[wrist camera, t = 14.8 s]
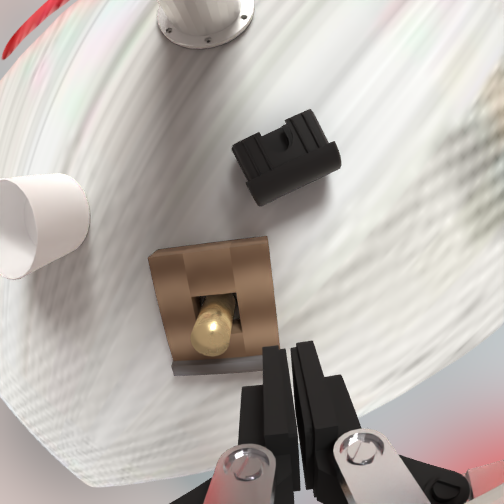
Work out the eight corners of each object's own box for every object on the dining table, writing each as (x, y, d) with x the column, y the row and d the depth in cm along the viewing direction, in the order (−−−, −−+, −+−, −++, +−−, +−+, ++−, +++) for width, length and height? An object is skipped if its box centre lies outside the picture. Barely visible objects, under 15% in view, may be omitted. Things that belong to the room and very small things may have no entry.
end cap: (258, 203, 37) (259, 210, 31) (232, 151, 36) (226, 147, 29) (332, 168, 36) (348, 168, 30) (306, 116, 35) (317, 105, 28)
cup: (104, 230, 38) (54, 252, 27) (52, 267, 40) (2, 294, 28) (69, 157, 36) (12, 157, 24) (20, 200, 37) (-34, 212, 26)
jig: (157, 249, 39) (144, 260, 34) (267, 235, 38) (268, 245, 33) (182, 356, 43) (174, 376, 38) (279, 348, 42) (282, 369, 37)
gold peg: (202, 289, 40) (187, 324, 31) (233, 286, 40) (225, 321, 30) (208, 316, 41) (194, 357, 31) (237, 314, 41) (232, 355, 31)
